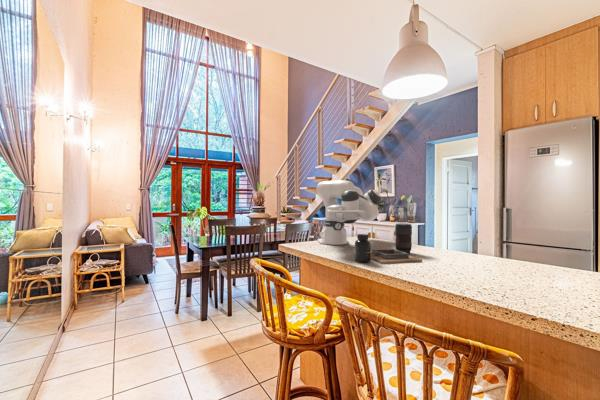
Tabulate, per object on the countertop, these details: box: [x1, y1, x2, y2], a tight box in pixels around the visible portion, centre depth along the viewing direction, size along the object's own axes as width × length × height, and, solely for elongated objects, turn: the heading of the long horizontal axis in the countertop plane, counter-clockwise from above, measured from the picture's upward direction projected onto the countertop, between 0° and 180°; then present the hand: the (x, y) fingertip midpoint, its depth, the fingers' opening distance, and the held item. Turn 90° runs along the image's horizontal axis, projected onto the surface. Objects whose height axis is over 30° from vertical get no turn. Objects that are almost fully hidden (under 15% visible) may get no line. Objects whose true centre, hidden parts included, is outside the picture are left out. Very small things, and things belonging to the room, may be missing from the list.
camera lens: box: [394, 223, 413, 255], centre depth 146 cm, size 8×8×15 cm
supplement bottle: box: [354, 233, 372, 264], centre depth 125 cm, size 7×7×12 cm
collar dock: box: [370, 248, 423, 265], centre depth 133 cm, size 20×20×3 cm
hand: (351, 215), depth 136 cm, fingers open, 8 cm apart
